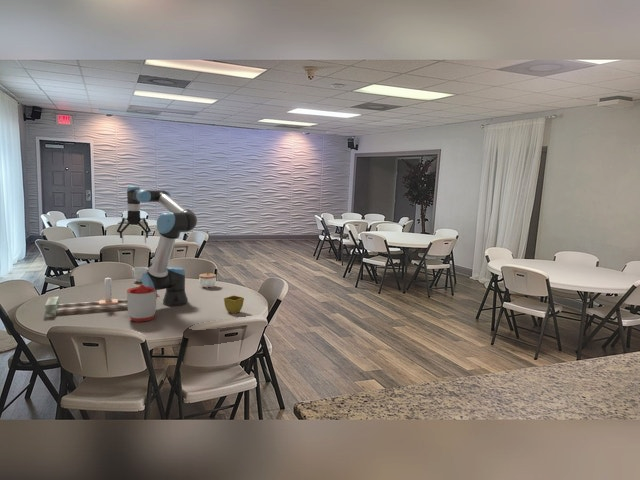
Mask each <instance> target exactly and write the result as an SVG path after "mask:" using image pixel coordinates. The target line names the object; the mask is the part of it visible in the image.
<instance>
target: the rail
mask: <svg viewBox="0 0 640 480" xmlns="http://www.w3.org/2000/svg"><path fill="white" fill-rule="evenodd" d="M116 311H117V312H118V311H128V306H127V298H125V299H118V305H108V306H99V301H87V302H86V301H85V302H71V303H60V296H49V297H47V301H46V302H45V305H44V317H45V318H56V317H57V316H56V315H58V316H68V315H81V314H93V313H94V314H95V313H105V312H116Z"/></svg>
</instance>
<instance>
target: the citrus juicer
mask: <svg viewBox="0 0 640 480" xmlns="http://www.w3.org/2000/svg"><path fill="white" fill-rule="evenodd" d="M157 291H158V290H155V291H154V287H145V286H144V285H143V284H140V285H139V286H136V287H131V288H128V289H126V299H127V306H128V310H127V312H128V314H129V318H130V320H131V321H133V322H136V323H141V322H147V321H148V322H149V321H152V320H153V319H154V317H155V313H156V310H157V300H158V299H157V298H161V297H160V295H159V294H158V292H157Z"/></svg>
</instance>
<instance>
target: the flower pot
mask: <svg viewBox="0 0 640 480" xmlns="http://www.w3.org/2000/svg"><path fill="white" fill-rule="evenodd" d="M244 300H245V298H244V296H238V295H230V296H226V297H224V298H223V302H224V308H225V310H226V311H227V313H231V314H237V313H240V312H241V311H242V308H243V305H244V302H245V301H244Z"/></svg>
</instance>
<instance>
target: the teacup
mask: <svg viewBox="0 0 640 480" xmlns="http://www.w3.org/2000/svg"><path fill="white" fill-rule="evenodd" d="M148 268H149V267H146V266H136V267H132V268H131V270H132V275H133V278H134V280H136V282H137V283H142V274H143V273H145V272H146V273H147V272H148Z"/></svg>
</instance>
